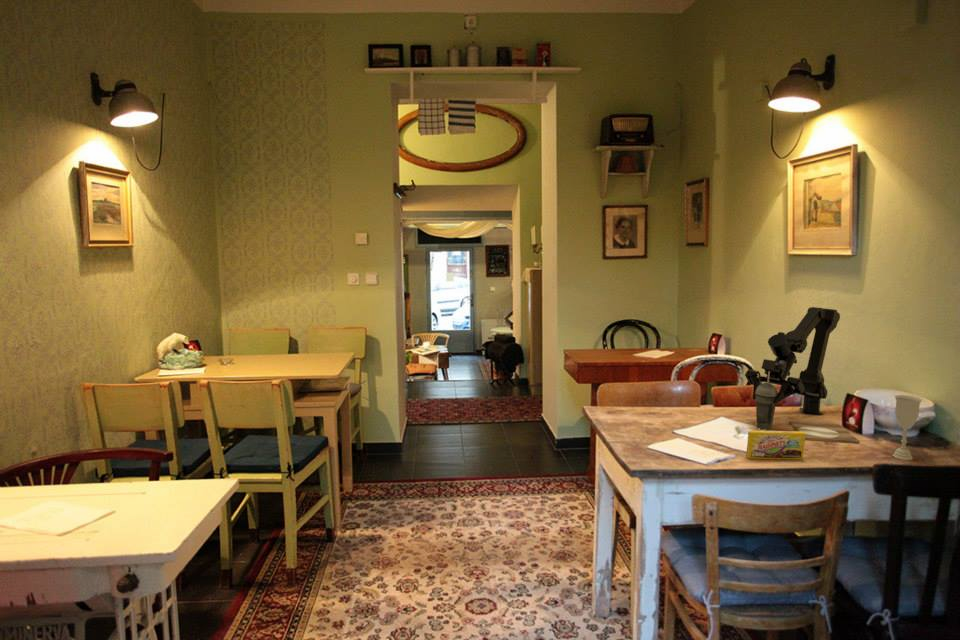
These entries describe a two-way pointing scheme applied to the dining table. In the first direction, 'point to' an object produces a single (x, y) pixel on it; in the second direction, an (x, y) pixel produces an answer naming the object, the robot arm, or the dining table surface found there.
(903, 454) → the chalice
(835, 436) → the walnut board
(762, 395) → the beverage cup
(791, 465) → the dining table surface
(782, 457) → the candy box
